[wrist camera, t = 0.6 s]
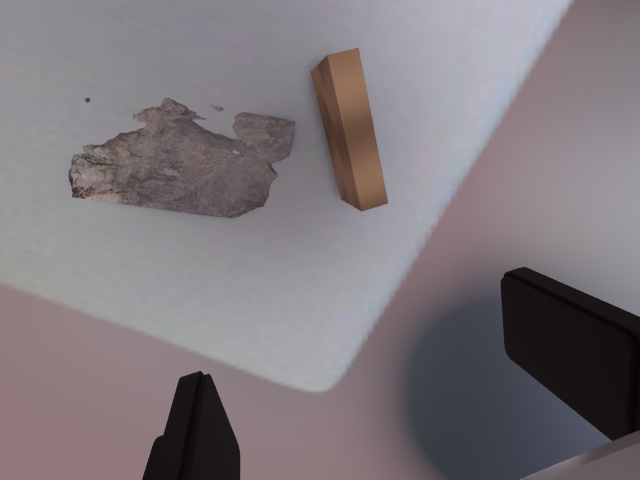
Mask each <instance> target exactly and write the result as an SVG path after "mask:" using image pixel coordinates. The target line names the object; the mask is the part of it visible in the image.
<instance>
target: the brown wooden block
mask: <svg viewBox="0 0 640 480" xmlns="http://www.w3.org/2000/svg"><path fill="white" fill-rule="evenodd" d="M311 73H312V78H313V82H314V86H315V90H316V94H317V99H318V103H319V107H320V111H321V116H322V120H323V124H324V128H325V133H326V137H327V141H328V145H329V149H330V154H331V158H332V162H333V166H334V171H335V175H336V179H337V183H338V187H339V192H340V196H341V199H342V200H344V201H345V202H347V203H349V204H350V205H352V206H354V207H355V208H357V209H359V210H360V211H365V210H368V209H371V208H374V207H377V206H381V205H384V204H387V203H388V200H387V195H386V190H385V185H384V179H383V174H382V169H381V164H380V158H379V153H378V148H377V143H376V138H375V132H374V127H373V122H372V117H371V111H370V106H369V101H368V96H367V91H366V85H365V80H364V75H363V70H362V64H361V59H360V54H359V49H358V48H356V49H352V50H348V51H344V52H339V53H335V54H331V55H327V56H326V57H325V58H324V59H323V60H322V61H321V62H320V63H319V64H318V65H317V67H316V68H315V69H314V70H313V71H312V72H311Z"/></svg>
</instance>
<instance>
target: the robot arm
mask: <svg viewBox="0 0 640 480" xmlns="http://www.w3.org/2000/svg"><path fill="white" fill-rule="evenodd" d="M501 298H502V313H503V328H504V341H505V342H504V343H505V350H506V353H507V355H508V356H509V358H510V359H511V360H512V361H514V362H515V363H516V364H517V365H519V366H520V367H521V368H522V369H524V370H525V371H526V372H527V373H529V374H530V375H531V376H532V377H534V378H535V379H536V380H537V381H538V382H540V383H541V384H542V385H543V386H545V387H546V388H547V389H548V390H550V391H551V392H552V393H553V394H555V395H556V396H557V397H558V398H560V399H561V400H562V401H563V402H565V403H566V404H567V405H568V406H570V407H571V408H572V409H573V410H575V411H576V412H577V413H578V414H579V415H581V416H582V417H583V418H584V419H586V420H587V421H588V422H589V423H591V424H592V425H593V426H594V427H596V428H597V429H598V430H599V431H600V432H602V433H603V434H604V435H606V436H607V437H608V438H609V439H611V440H612V442H610V443H607V444H605V445H602V446H600V447H597V448H595V449H592V450H590V451H588V452H585V453H583V454H580V455H578V456H575V457H573V458H571V459H568V460H566V461H563V462H561V463H559V464H556V465H554V466H551V467H549V468H546V469H544V470H542V471H539V472H537V473H534V474H532V475H530V476H528V477H525V478H522V479H520V480H640V317H639V316H636V315H634V314H632V313H630V312H627V311H625V310H623V309H620V308H618V307H616V306H613V305H611V304H609V303H607V302H604V301H602V300H600V299H598V298H595V297H593V296H591V295H588V294H586V293H584V292H581V291H579V290H577V289H575V288H572V287H570V286H568V285H565V284H563V283H561V282H559V281H556V280H554V279H552V278H549V277H547V276H545V275H542V274H540V273H538V272H536V271H533V270H531V269H529V268H526V267H521V268H518V269H514V270H511V271H509V272H506V273H505V274H504V277H503V278H502V280H501ZM142 480H240V450H239V446H238V443H237V440H236V437H235V435H234V432H233V430H232V428H231V425H230V423H229V420H228V417H227V415H226V412H225V410H224V407H223V405H222V402H221V400H220V397H219V395H218V392H217V390H216V387H215V385H214V382H213V379H212V377H211V375H210V374H206V375H204V374H203V373H202V372H201V371H199V372H196V373H193V374H190V375H186V376H183V377H181V378H180V379H179V382H178V385H177V389H176V392H175V396H174V399H173V403H172V406H171V410H170V414H169V417H168V421H167V424H166V428H165V431H164V435H162V436H159V437H158V438H157V439H156V440H155V442H154V444H153V446H152V449H151V453H150V456H149V459H148V462H147V466H146V469H145V472H144V475H143V479H142Z"/></svg>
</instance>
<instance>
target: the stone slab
mask: <svg viewBox="0 0 640 480" xmlns="http://www.w3.org/2000/svg"><path fill="white" fill-rule="evenodd" d="M85 101H86V102H89V101H90V99H89V98H86V99H85ZM209 106H210V105H209ZM211 107H212V108H215V109H216V110H219V111H222V110H223V108H220V107H215V106H211ZM234 117H235V120H236V121H235V122H234V124H233V128H234V130H235V132H236V134H237V136H238V138H239V139H240V141H239V140H238V139H231V138H227V137H225V136H223V135H220V134H213V133H211V132H210V131H208V130H205V129H203V128H202V127H200V126H199V125H197V124H196V123H195V122H194V121H192V119H201V120H206V118H201V117H199V116H198V115H196V112H193V111H189V110H188V108H187V107H186V106H184V105H182V104H180V103H176V102H175V101H173V100H171V99H169V98H165V99H164V100H163V101H162V105H161V106H160V107H156V108H154V107H151V108H148V109H144V110H143V111H141V112H140V113H139V114H138V115H136V114H133V119H137V120H138V121H142V122H145V121H146V122H147V125H146V126H145V128H141V129H138V130H137V131H133V132H129V133H120V134H119V135H117V136H116V137H115V138H114V139H111V140H108V141H107V142H106V143H105V144H103V145H87V146H83V149H84V152H87V154H76V155H74V156H73V158H72V167H71V169H70V170H69V181H70V182H71V186H72V192H73V195H72V197H75V198H83V199H85V197H90V196H92V198H91V199H92V200H99V201H107V202H113V203H120V204H126V205H134V206H142V207H148V208H155V209H162V210H170V211H178V212H185V213H193V214H200V215H209V216H217V217H227V218H235V217H239V216H241V215H243V214H245V213H247V212H249V211H251V210H253V209H255V208H258V207H263V206H264V205H263V204H264V203H265V201H266V199H267V198H268V196H269V188H270V185H271V183H272V182H273V180H274V179H275V178H276V177H277V176H278V175H277V173H276V172H275V171H274V170H273V168H272V167H271V163H274V162H277V161H281V160H283V159H284V158H286V157H288V156H289V153H290V149H291V144H292V139H293V134H294V125H295V122H294V121H289V120H284V119H278V118H273V117H267V116H261V115H255V114H250V113H240V114H238V115H236V116H234ZM79 196H82V197H79Z"/></svg>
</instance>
